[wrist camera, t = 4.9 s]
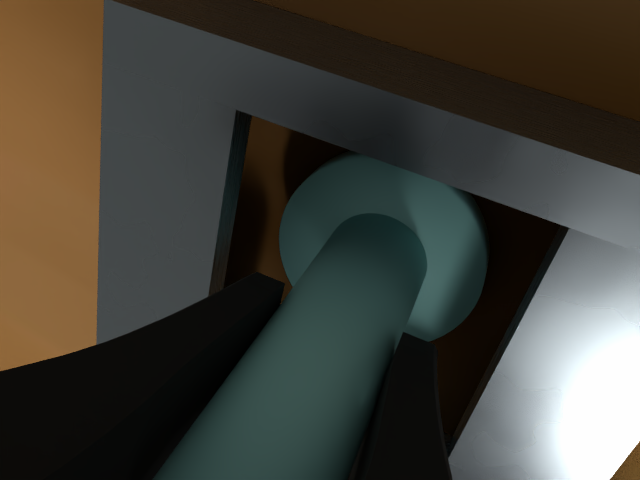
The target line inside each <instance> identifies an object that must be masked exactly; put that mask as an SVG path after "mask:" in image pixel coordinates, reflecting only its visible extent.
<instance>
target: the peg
mask: <svg viewBox="0 0 640 480" xmlns="http://www.w3.org/2000/svg"><path fill="white" fill-rule="evenodd" d="M279 247H280V255H281V259H282V264H283V266H284V269H285V272H286V275H287V277H288V279H289V281H290V283H291V285H292V287H293V288H292V289H291V291H290V292H289V294H288V295H287V296H286V298H285V299H284V300H283V302H282V303H281V304H280V306H279V307H278V309H277V310H276V311H275V313H274V314H273V315H272V317H271V318H270V319H269V321H268V322H267V324H266V325H265V326H264V328H263V329H262V330H261V332H260V333H259V334H258V336H257V337H256V339H255V340H254V341H253V343H252V344H251V345H250V347H249V348H248V350H247V351H246V352H245V354H244V355H243V356H242V358H241V359H240V360H239V362H238V363H237V365H236V366H235V367H234V369H233V370H232V371H231V373H230V374H229V375H228V377H227V378H226V380H225V381H224V382H223V384H222V385H221V386H220V388H219V389H218V390H217V392H216V393H215V395H214V396H213V397H212V399H211V400H210V401H209V403H208V404H207V405H206V407H205V408H204V410H203V411H202V412H201V414H200V415H199V416H198V418H197V419H196V421H195V422H194V423H193V425H192V426H191V427H190V429H189V430H188V431H187V433H186V434H185V436H184V437H183V438H182V440H181V441H180V442H179V444H178V445H177V446H176V448H175V449H174V451H173V452H172V453H171V455H170V456H169V457H168V459H167V460H166V461H165V463H164V464H163V466H162V467H161V468H160V470H159V471H158V472H157V474H156V475H155V477H154V478H153V479H152V480H348V477H349V474H350V472H351V469H352V467H353V464H354V461H355V459H356V456H357V453H358V451H359V448H360V446H361V443H362V440H363V438H364V435H365V433H366V430H367V427H368V425H369V422H370V420H371V417H372V414H373V412H374V409H375V406H376V403H377V400H378V396H379V393H380V390H381V387H382V385H383V382H384V379H385V377H386V374H387V372H388V369H389V367H390V364H391V361H392V359H393V356H394V354H395V351H396V348H397V346H398V343H399V341H400V338H401V336H402V333H403V332H405V333H408V334H410V335H413V336H415V337H417V338H420V339H422V340H425V341H427V342H429V341H432V340H435V339H437V338H439V337H442V336H444V335H445V334H447V333H449V332H450V331H452V330H453V329H455V328H456V327H457V326H458V325H460V324H461V323H462V322H463V321H464V320H465V319H466V318H467V316H468V315H469V314H470V313H471V311H472V310H473V308H474V307H475V305H476V304H477V302H478V299H479V297H480V295H481V293H482V289H483V285H484V282H485V277H486V272H487V268H488V262H489V253H490V248H489V236H488V231H487V226H486V223H485V220H484V218H483V215H482V212H481V211H480V209H479V207H478V205H477V203H476V201H475V200H474V198H473V197H472V195H471V194H470V193H469V192H467V191H464V190H461V189H458V188H456V187H453V186H450V185H447V184H444V183H441V182H439V181H436V180H433V179H430V178H427V177H425V176H422V175H419V174H416V173H413V172H410V171H408V170H405V169H402V168H399V167H396V166H394V165H391V164H388V163H385V162H382V161H379V160H377V159H374V158H371V157H368V156H365V155H362V154H360V153H357V152H354V151H348V152H345V153H342V154H339V155H337V156H335V157H334V158H332V159H330V160H328V161H327V162H325V163H324V164H322V165H321V166H319V167H318V168H317V169H316V170H315V171H314V172H313V173H312V174H311V175H310V176H309V177H308V178H307V179H306V180H305V181H304V182H303V183H302V184H301V185H300V186H299V187H298V188H297V190H296V191H295V192H294V194H293V195H292V196H291V198H290V200H289V202H288V203H287V205H286V207H285V210H284V213H283V216H282V219H281V224H280V230H279Z"/></svg>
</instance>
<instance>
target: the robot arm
mask: <svg viewBox="0 0 640 480" xmlns="http://www.w3.org/2000/svg"><path fill="white" fill-rule="evenodd" d="M284 285H285V283H283V282H281V281H278V280H276V279H273V278H271V277H268V276H266V275H264V274H261V273H259V272H255V273H253V274H250V275H248V276H246V277H244V278H243V279H241V280H239V281H237V282H235V283H233V284H231V285H229V286H227V287H226V288H224V289H222V290H220V291H218V292H216V293H214V294H212V295H210V296H208V297H206V298H204V299H202V300H200V301H198V302H196V303H194V304H192V305H190V306H188V307H186V308H184V309H182V310H180V311H178V312H176V313H173V314H171V315H169V316H167V317H165V318H163V319H160V320H158V321H155V322H153V323H151V324H148V325H146V326H144V327H141V328H139V329H137V330H134V331H132V332H129V333H127V334H124V335H122V336H119V337H117V338H114V339H111V340H109V341H106V342H103V343H100V344H97V345H94V346H91V347H88V348H85V349H82V350H79V351H76V352H73V353H70V354H66V355H63V356H59V357H55V358H51V359H47V360H43V361H39V362H36V363H32V364H28V365H24V366H20V367H16V368H12V369H8V370H4V371H0V480H152V479H153V478H154V477H155V475H156V474H157V472H158V471H159V470H160V468H161V467H162V466H163V464H164V463H165V461H166V460H167V459H168V457H169V456H170V455H171V453H172V452H173V451H174V449H175V448H176V446H177V445H178V444H179V442H180V441H181V440H182V438H183V437H184V436H185V434H186V433H187V431H188V430H189V429H190V427H191V426H192V425H193V423H194V422H195V421H196V419H197V418H198V416H199V415H200V414H201V412H202V411H203V410H204V408H205V407H206V405H207V404H208V403H209V401H210V400H211V399H212V397H213V396H214V395H215V393H216V392H217V390H218V389H219V388H220V386H221V385H222V384H223V382H224V381H225V380H226V378H227V377H228V375H229V374H230V373H231V371H232V370H233V369H234V367H235V366H236V365H237V363H238V362H239V360H240V359H241V358H242V356H243V355H244V354H245V352H246V351H247V350H248V348H249V347H250V345H251V344H252V343H253V341H254V340H255V339H256V337H257V336H258V334H259V333H260V332H261V330H262V329H263V328H264V326H265V325H266V324H267V322H268V321H269V319H270V318H271V317H272V315H273V314H274V313H275V311H276V310H277V309H278V307H279V306H280V302H281V298H282V294H283V290H284ZM437 357H438V351H437V349H436V346H435V344H432V343H430V342H427V341H425V340H422V339H420V338H417V337H415V336H413V335H410V334H408V333H405V332H403V333H402V336H401V338H400V341H399V343H398V346H397V348H396V351H395V354H394V356H393V359H392V361H391V364H390V367H389V369H388V372H387V374H386V377H385V379H384V382H383V385H382V387H381V390H380V393H379V396H378V400H377V403H376V406H375V409H374V412H373V414H372V417H371V420H370V422H369V425H368V427H367V430H366V433H365V435H364V438H363V440H362V443H361V446H360V448H359V451H358V453H357V456H356V459H355V461H354V464H353V467H352V469H351V472H350V475H349V479H348V480H453V479H452V474H451V470H450V465H449V461H448V456H447V450H446V445H445V439H444V433H443V426H442V420H441V413H440V404H439V394H438V380H437Z"/></svg>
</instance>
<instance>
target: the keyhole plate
mask: <svg viewBox="0 0 640 480" xmlns="http://www.w3.org/2000/svg"><path fill="white" fill-rule="evenodd" d="M252 116H255V117H258V118H261V119H264V120H267V121H269V122H272V123H275V124H278V125H281V126H283V127H286V128H289V129H292V130H295V131H298V132H300V133H303V134H306V135H309V136H312V137H315V138H317V139H320V140H323V141H326V142H329V143H331V144H334V145H337V146H340V147H343V148H346V149H348V150H351V151H354V152H357V153H360V154H362V155H365V156H368V157H371V158H374V159H377V160H379V161H382V162H385V163H388V164H391V165H394V166H396V167H399V168H402V169H405V170H408V171H410V172H413V173H416V174H419V175H422V176H425V177H427V178H430V179H433V180H436V181H439V182H441V183H444V184H447V185H450V186H453V187H456V188H458V189H461V190H464V191H467V192H470V193H473V194H475V195H478V196H481V197H484V198H487V199H489V200H492V201H495V202H498V203H501V204H504V205H506V206H509V207H512V208H515V209H518V210H520V211H523V212H526V213H529V214H532V215H535V216H537V217H540V218H543V219H546V220H549V221H551V222H554V223H557V224H560V227H559V229H558V231H557V233H556V235H555V237H554V239H553V241H552V243H551V245H550V247H549V249H548V251H547V252H546V254H545V256H544V258H543V260H542V262H541V264H540V266H539V268H538V270H537V272H536V274H535V276H534V278H533V280H532V282H531V284H530V286H529V287H528V289H527V291H526V293H525V295H524V297H523V299H522V301H521V303H520V305H519V307H518V309H517V311H516V313H515V315H514V317H513V319H512V321H511V322H510V324H509V326H508V328H507V330H506V332H505V334H504V336H503V338H502V340H501V342H500V344H499V346H498V348H497V350H496V352H495V354H494V356H493V358H492V359H491V361H490V363H489V365H488V367H487V369H486V371H485V373H484V375H483V377H482V379H481V381H480V383H479V385H478V387H477V389H476V391H475V393H474V394H473V396H472V398H471V400H470V402H469V404H468V406H467V408H466V410H465V412H464V414H463V416H462V418H461V420H460V422H459V424H458V426H457V428H456V429H455V431H454V433H453V435H452V436H450V435H448V434H446V433H444V432H443V433H444V439H445V445H446V450H447V456H448V461H449V465H450V470H451V474H452V479H453V480H609V479H610V478H611V477H612V475H613V474H614V473H615V472H616V470H617V469H618V468H619V466H620V465H621V464H622V463H623V461H624V460H625V459H626V457H627V456H628V455H629V454H630V452H631V451H632V450H633V448H634V447H635V446H636V444H637V443H638V442H639V441H640V122H638V121H635V120H631V119H628V118H625V117H622V116H619V115H616V114H612V113H609V112H606V111H603V110H600V109H596V108H593V107H590V106H587V105H584V104H581V103H577V102H574V101H571V100H568V99H565V98H562V97H558V96H555V95H552V94H549V93H546V92H542V91H539V90H536V89H533V88H530V87H527V86H523V85H520V84H517V83H514V82H511V81H507V80H504V79H501V78H498V77H495V76H492V75H488V74H485V73H482V72H479V71H476V70H473V69H469V68H466V67H463V66H460V65H457V64H453V63H450V62H447V61H444V60H441V59H438V58H434V57H431V56H428V55H425V54H422V53H418V52H415V51H412V50H409V49H406V48H403V47H399V46H396V45H393V44H390V43H387V42H383V41H380V40H377V39H374V38H371V37H368V36H364V35H361V34H358V33H355V32H352V31H349V30H345V29H342V28H339V27H336V26H333V25H329V24H326V23H323V22H320V21H317V20H314V19H310V18H307V17H304V16H301V15H298V14H294V13H291V12H288V11H285V10H282V9H279V8H275V7H272V6H269V5H266V4H263V3H259V2H256V1H253V0H104V24H103V70H102V116H101V162H100V207H99V253H98V299H97V344H100V343H103V342H106V341H109V340H111V339H114V338H117V337H119V336H122V335H124V334H127V333H129V332H132V331H134V330H137V329H139V328H141V327H144V326H146V325H148V324H151V323H153V322H155V321H158V320H160V319H163V318H165V317H167V316H169V315H171V314H173V313H176V312H178V311H180V310H182V309H184V308H186V307H188V306H190V305H192V304H194V303H196V302H198V301H200V300H202V299H204V298H206V297H208V296H210V295H212V294H214V293H216V292H218V291H220V290H222V289H223V287H224V281H225V275H226V269H227V263H228V257H229V251H230V245H231V239H232V233H233V227H234V221H235V215H236V209H237V203H238V196H239V190H240V184H241V178H242V172H243V166H244V160H245V154H246V148H247V142H248V136H249V130H250V124H251V118H252Z"/></svg>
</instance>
